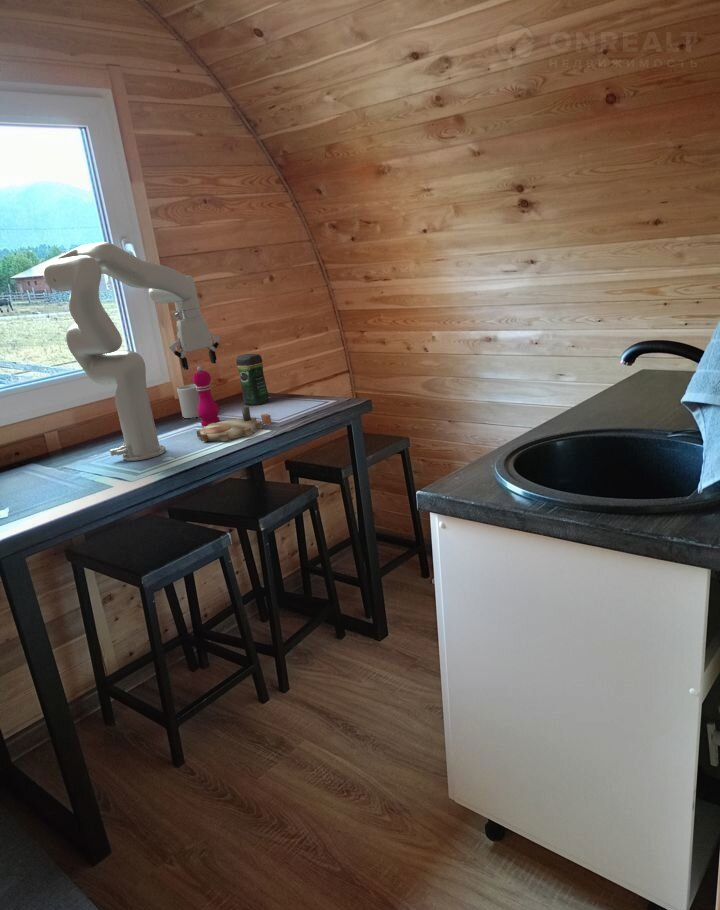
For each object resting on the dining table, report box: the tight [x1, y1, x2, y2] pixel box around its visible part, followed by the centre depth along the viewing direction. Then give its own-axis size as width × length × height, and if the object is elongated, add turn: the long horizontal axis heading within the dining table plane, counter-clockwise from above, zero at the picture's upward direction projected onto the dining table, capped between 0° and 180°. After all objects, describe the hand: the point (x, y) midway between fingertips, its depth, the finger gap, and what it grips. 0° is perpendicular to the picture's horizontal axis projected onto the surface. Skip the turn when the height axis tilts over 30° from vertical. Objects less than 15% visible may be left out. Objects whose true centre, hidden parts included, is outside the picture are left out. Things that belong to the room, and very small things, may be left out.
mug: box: [176, 383, 199, 419], centre depth 259 cm, size 12×8×11 cm
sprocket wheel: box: [195, 406, 263, 442], centre depth 226 cm, size 20×20×6 cm
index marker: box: [260, 413, 273, 426], centre depth 233 cm, size 2×3×3 cm, turn 32°
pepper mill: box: [192, 366, 221, 427], centre depth 242 cm, size 7×7×20 cm
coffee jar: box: [235, 353, 270, 406], centre depth 266 cm, size 10×8×19 cm
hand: (200, 366), depth 239 cm, fingers open, 9 cm apart
